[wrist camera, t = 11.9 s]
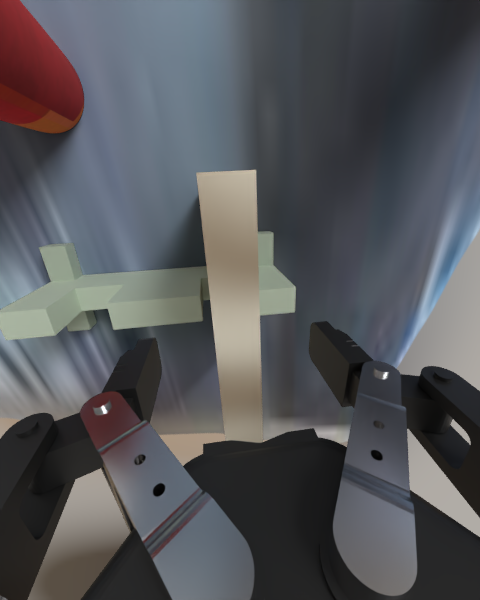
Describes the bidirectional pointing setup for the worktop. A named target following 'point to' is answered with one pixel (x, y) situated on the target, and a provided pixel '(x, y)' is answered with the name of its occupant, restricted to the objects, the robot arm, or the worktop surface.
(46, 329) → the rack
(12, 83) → the paper cup
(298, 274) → the worktop surface
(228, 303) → the beige flat panel
